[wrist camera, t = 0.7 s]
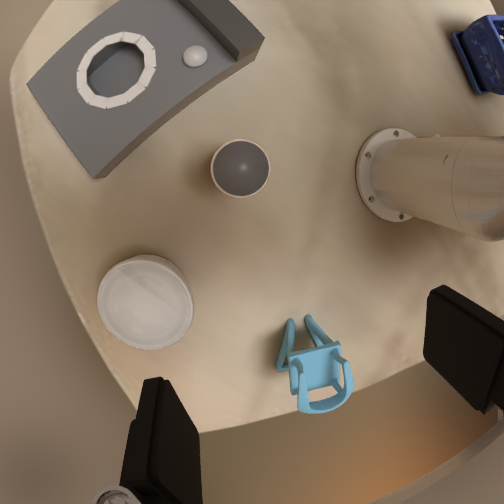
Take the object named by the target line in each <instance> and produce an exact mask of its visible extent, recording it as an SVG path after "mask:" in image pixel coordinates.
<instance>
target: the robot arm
mask: <svg viewBox="0 0 504 504" xmlns="http://www.w3.org/2000/svg"><path fill="white" fill-rule="evenodd" d="M365 154H366V157H365ZM356 180H357V186H358V189H359V192H360V195H361V197H362V199H363V201H364V203H365V205H366V206H367V207H368V208H369V210H370V211H371V212H373V213H374V214H375V215H376V216H378V217H380V218H382V219H384V220H387V221H391V222H403V221H406V220H409V219H411V218H413V217H417V218H420V219H423V220H426V221H429V222H432V223H435V224H438V225H441V226H444V227H447V228H450V229H453V230H455V231H458V232H461V233H464V234H467V235H469V236H472V237H475V238H478V239H481V240H485V241H500V240H503V239H504V137H488V136H459V137H441V136H440V135H439V134H438V133H435V134H434V135H433V136H432V137H425V138H417V137H416V136H415V135H413V134H412V133H411V132H409V131H407V130H404V129H400V128H387V129H382V130H380V131H378V132H376V133H374V134H373V135H372V136H370V137H369V139H368V140H367V141H366V142H365V143H364V145H363V147H362V149H361V151H360V154H359V156H358V160H357V166H356ZM423 356H424V358H425V360H426V361H427V362H428V363H429V364H430V365H431V366H432V367H433V368H434V369H435V370H436V371H437V372H438V373H439V374H440V375H441V376H442V377H444V379H445V380H446V381H447V382H448V383H450V385H451V386H453V388H454V389H455V390H456V391H458V393H459V394H460V395H461V396H462V397H463V398H464V399H465V400H466V401H467V402H468V403H469V404H470V405H471V406H472V407H473V408H474V409H475V410H480V411H481V412H482V413H483V414H486V413H487V412H488V411H489V410H491V409H492V408H493V407H494V405H495V404H496V405H497V406H498V424H497V425H495V426H494V427H493V428H492V429H490V430H489V431H488V432H487V433H485V434H484V435H483V436H482V437H480V438H479V439H478V440H476V441H475V442H474V443H472V444H471V445H470V446H468V447H467V448H466V449H464V450H463V451H461V452H460V453H459V454H457V455H456V456H454V457H453V458H451V459H450V460H448V461H447V462H445V463H444V464H442V465H441V466H439V467H437V468H436V469H434V470H433V471H431V472H429V473H428V474H426V475H424V476H422V477H421V478H419V479H417V480H416V481H414V482H412V483H410V484H408V485H406V486H405V487H402V488H400V489H399V490H397V491H395V492H393V493H391V494H388V495H386V496H384V497H382V498H380V499H378V500H375V501H373V502H371V503H369V504H504V321H503V320H502V319H500V318H498V317H497V316H495V315H494V314H492V313H491V312H489V311H487V310H486V309H484V308H483V307H481V306H479V305H478V304H476V303H475V302H473V301H471V300H470V299H468V298H466V297H465V296H463V295H461V294H460V293H458V292H456V291H455V290H453V289H451V288H450V287H448V286H446V285H441V286H439V287H437V288H435V289H433V290H431V291H430V293H429V296H428V298H427V311H426V326H425V337H424V347H423ZM199 443H200V441H199V434H198V431H197V429H196V427H195V425H194V424H193V422H192V420H191V418H190V417H189V415H188V413H187V412H186V410H185V408H184V406H183V405H182V403H181V401H180V399H179V398H178V396H177V394H176V392H175V390H174V388H173V387H172V385H171V383H170V381H169V380H164V379H163V378H162V377H156V378H150V379H145V380H144V382H143V387H142V391H141V396H140V400H139V405H138V410H137V415H136V419H134V420H133V421H132V422H131V425H130V429H129V434H128V439H127V444H126V450H125V455H124V460H123V466H122V472H121V478H120V484H119V486H109V487H106V488H104V489H102V490H101V491H100V492H98V493H97V495H96V496H95V497H94V499H93V502H92V504H203V500H202V485H201V466H200V444H199Z"/></svg>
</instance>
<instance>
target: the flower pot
mask: <svg viewBox="0 0 504 504" xmlns="http://www.w3.org/2000/svg"><path fill="white" fill-rule="evenodd" d="M502 27H503V28H504V15H486V16H483V17H481V18H479V19H477V20H476V21H474V22H473V23H472V24H471V25H470V26H469V27H468V28H467V29H466V30H465V31H457V32H453V33H452V34H451V39H452V42H453V44H454V46H455V49H456V51H457V53H458V55H459V57H460V59H461V62H462V64H463V66H464V68H465V71H466V73H467V76H468V78H469V81H470V83H471V85H472V88H473V89H474V91H475V92H476V93H477V94H479V95H482V94H485V93H488V92H493V93H496V94H499V95H504V39H501V38H500V35H502V36H503V37H504V30H503V29H502Z"/></svg>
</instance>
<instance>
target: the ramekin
mask: <svg viewBox="0 0 504 504" xmlns="http://www.w3.org/2000/svg"><path fill="white" fill-rule="evenodd" d="M97 307H98V311H99V315H100V317H101V320H102V321H103V323H104V325H105V326H106V328H107V329H108V330H109V331H110V332H111V334H113V335H114V336H115V337H116V338H117V339H119V340H120V341H122V342H123V343H125V344H127V345H129V346H132V347H135V348H138V349H144V350H154V349H161V348H164V347H167V346H169V345H172V344H174V343H175V342H177V341H178V340H179V339H180V338H181V337H182V336H183V335H184V334H185V333H186V332H187V330H188V329H189V327H190V325H191V322H192V319H193V314H194V301H193V296H192V292H191V290H190V288H189V286H188V284H187V282H186V280H185V277H184V276H183V274H182V273H181V271H180V270H179V269H178V268H177V267H176V266H175V265H174V264H173V263H171V262H170V261H168V260H167V259H165V258H162V257H160V256H156V255H138V256H134V257H132V258H130V259H127V260H124V261H122V262H120V263H118V264H116V265H115V266H113V267H112V268H111V269H110V270H109V271H108V272H107V273H106V274H105V276H104V277H103V279H102V281H101V283H100V285H99V288H98V293H97Z"/></svg>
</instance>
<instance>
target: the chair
mask: <svg viewBox="0 0 504 504" xmlns="http://www.w3.org/2000/svg"><path fill="white" fill-rule="evenodd" d="M305 322H306V325H307V328H308V330H309V332H310V334H311V336H312V337H313V339H314V341H315V343H316V345H317V347H315V348H311V349H305V350H299V351H294V341H295V323H294V321H293V319H291V318H290V319H288V320H287V325H286V330H285V335H284V338H283V342H282V345H281V349H280V352H279V355H278V359H277V363H276V368H277V371H278V372H282V371H287V370H289V377H290V391H291V394H292V395H296V394H298V401H297V407H298V410H299V411H301V412H304V413H325V412H329V411H332V410H333V409H336V408H337V407H339V406H340V405H342V404H343V403H344V402H345V401H346V400H347V399H348V397H349V396H350V394H351V393H352V391H353V389H354V380H353V376H352V373H351V370H350V366H349V362H348V361H347V360H346V359H344V358H342V357H341V356H340V355H341V344H340V343H339V341H336V342H333V341H332V340H331V339H330V338H329V337H328V336H327V335H326V334H325V333H324V332H323V330H322V329H321V328H320V327H319V326H318V325H317V324H316V323H315V321H314V320H313V319H312V317H311V316H310V315H306V316H305ZM286 355H287V358H288V364H285V365H283V363H284V360H285V357H286ZM340 363H341V364H342V368H343V374H344V388H343V389H342V388H341V386H340V385H339V380H340ZM331 385H332V386H333V387H334V388H335V390H336V391H337V392H338V394H336V395H334V396H332V397H330V398H327V399H324V400H320V401H315V402H309V396H308V391H310V390H314V389H318V388H322V387H326V386H331Z"/></svg>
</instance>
